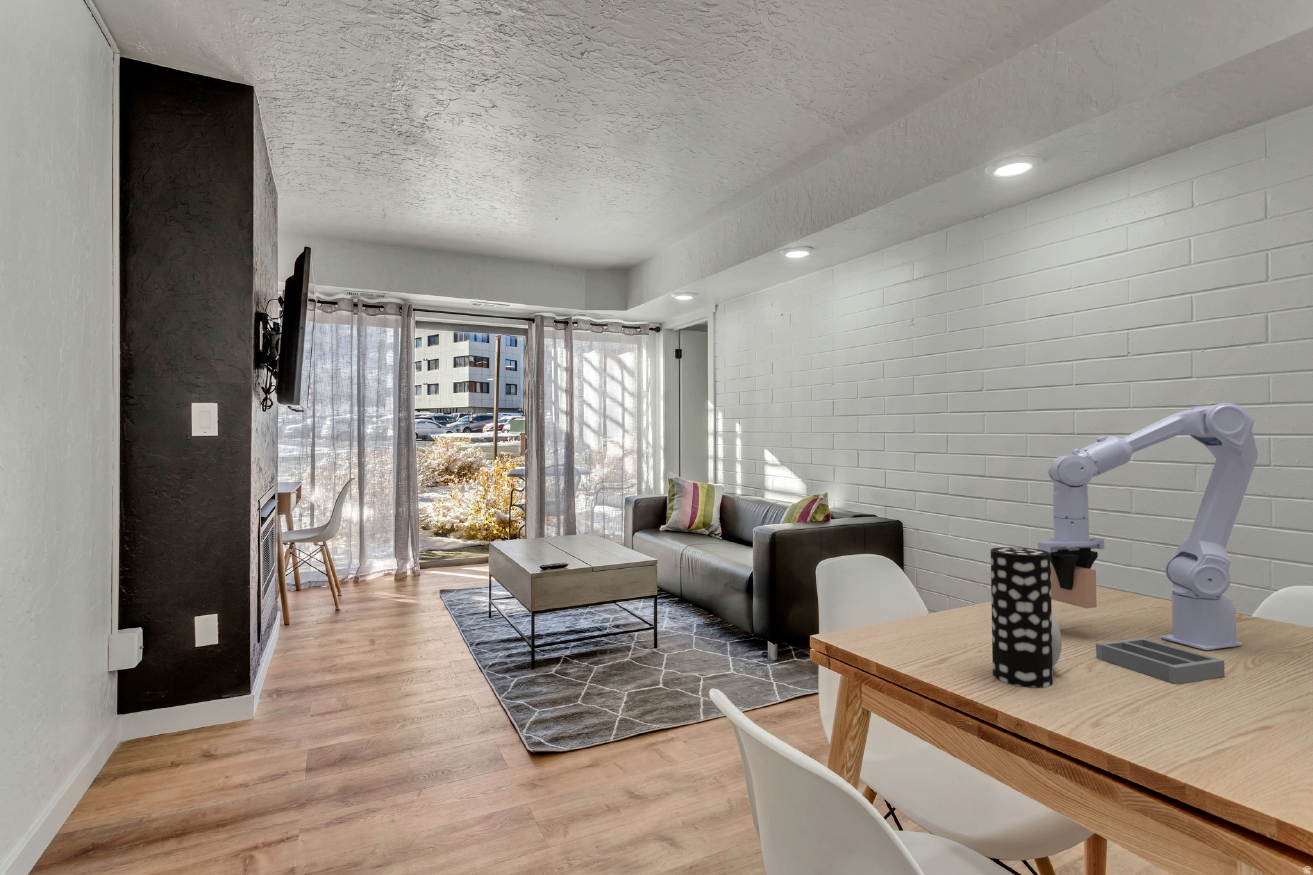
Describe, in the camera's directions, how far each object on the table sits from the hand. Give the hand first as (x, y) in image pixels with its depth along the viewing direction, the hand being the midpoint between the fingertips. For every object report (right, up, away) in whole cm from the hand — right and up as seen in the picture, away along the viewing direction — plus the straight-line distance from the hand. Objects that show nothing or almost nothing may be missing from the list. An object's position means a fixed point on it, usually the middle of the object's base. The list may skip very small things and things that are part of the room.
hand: (1072, 588), depth 125 cm
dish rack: (+2, -9, -18) cm, 20 cm away
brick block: (0, -3, 0) cm, 3 cm away
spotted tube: (-23, -9, -23) cm, 33 cm away
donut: (-16, -9, -18) cm, 26 cm away
